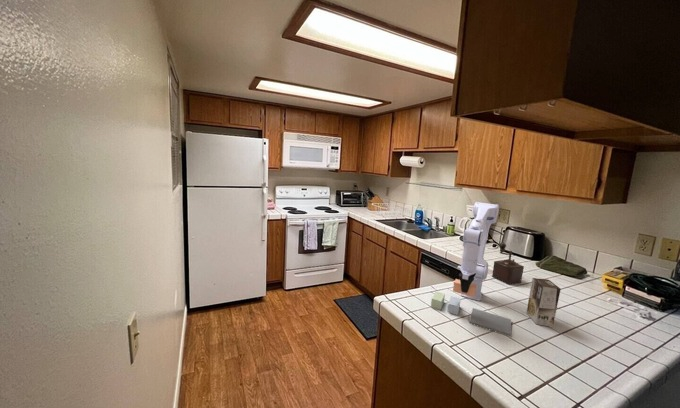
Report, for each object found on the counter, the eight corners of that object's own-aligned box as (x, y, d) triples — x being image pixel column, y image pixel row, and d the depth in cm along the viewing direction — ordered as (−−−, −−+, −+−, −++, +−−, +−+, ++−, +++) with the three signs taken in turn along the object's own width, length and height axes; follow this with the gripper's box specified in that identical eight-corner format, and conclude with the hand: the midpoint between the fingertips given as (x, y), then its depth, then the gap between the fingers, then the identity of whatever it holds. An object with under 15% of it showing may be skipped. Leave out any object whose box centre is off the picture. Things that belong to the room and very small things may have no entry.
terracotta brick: (452, 291, 116) (454, 282, 115) (454, 287, 119) (455, 278, 119) (473, 297, 112) (475, 288, 111) (475, 293, 115) (476, 284, 115)
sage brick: (434, 299, 127) (435, 291, 126) (443, 302, 125) (445, 294, 124) (430, 307, 120) (431, 298, 119) (440, 310, 118) (441, 301, 117)
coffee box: (553, 327, 110) (561, 289, 108) (535, 324, 112) (543, 286, 109) (542, 315, 119) (549, 279, 116) (525, 312, 120) (532, 277, 118)
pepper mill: (522, 282, 151) (528, 250, 148) (508, 285, 147) (514, 252, 144) (497, 271, 165) (502, 241, 162) (483, 273, 161) (488, 242, 158)
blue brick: (449, 304, 124) (450, 295, 123) (459, 307, 122) (460, 298, 121) (447, 312, 117) (448, 303, 116) (457, 315, 115) (458, 306, 114)
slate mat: (472, 309, 120) (472, 307, 120) (510, 321, 113) (511, 319, 113) (469, 323, 110) (469, 321, 109) (510, 336, 103) (510, 334, 102)
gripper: (462, 251, 121) (457, 281, 123) (456, 261, 109) (451, 293, 111) (480, 255, 117) (475, 285, 120) (476, 265, 105) (470, 299, 108)
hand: (465, 290), depth 115 cm, fingers closed on terracotta brick, 4 cm apart
